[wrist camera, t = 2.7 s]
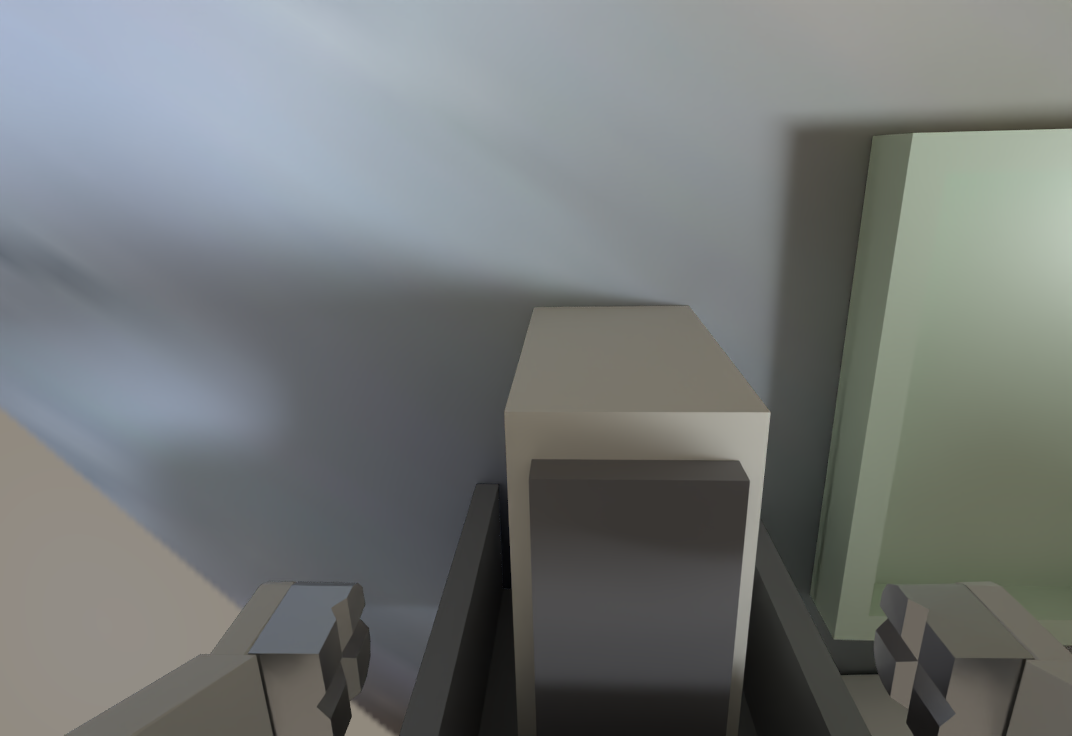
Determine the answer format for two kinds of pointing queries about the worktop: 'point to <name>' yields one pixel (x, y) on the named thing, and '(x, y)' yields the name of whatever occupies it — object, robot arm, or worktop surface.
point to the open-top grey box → (489, 658)
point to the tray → (955, 380)
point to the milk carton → (877, 706)
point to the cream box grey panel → (631, 523)
